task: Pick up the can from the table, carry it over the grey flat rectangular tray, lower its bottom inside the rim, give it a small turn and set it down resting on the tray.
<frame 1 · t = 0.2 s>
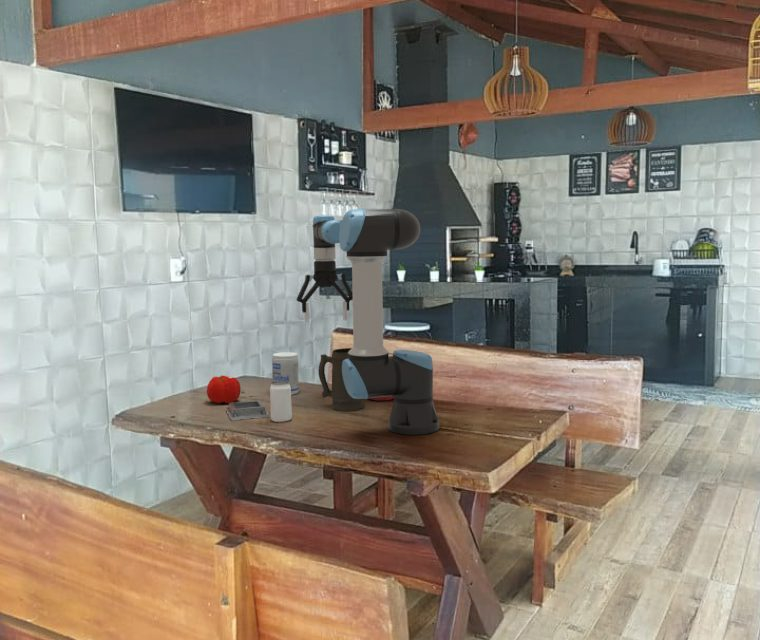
hand: (326, 321, 254), 28 cm above the table, tool pointing down, fingers open, 13 cm apart
tomato: (224, 402, 254), on the table
can: (281, 420, 228), on the table
supplement tub: (286, 393, 267), on the table
grey flat rectangular tray: (247, 413, 236), on the table
beer stein: (341, 408, 243), on the table
plant pot: (381, 398, 256), on the table
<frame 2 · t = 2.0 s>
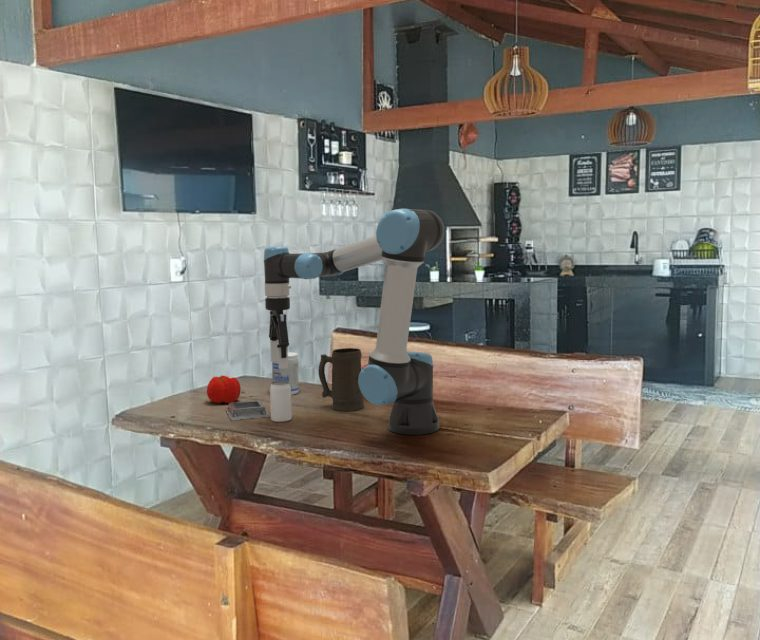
hand: (279, 364, 226), 18 cm above the table, tool pointing down, fingers open, 13 cm apart
nothing on the table moved.
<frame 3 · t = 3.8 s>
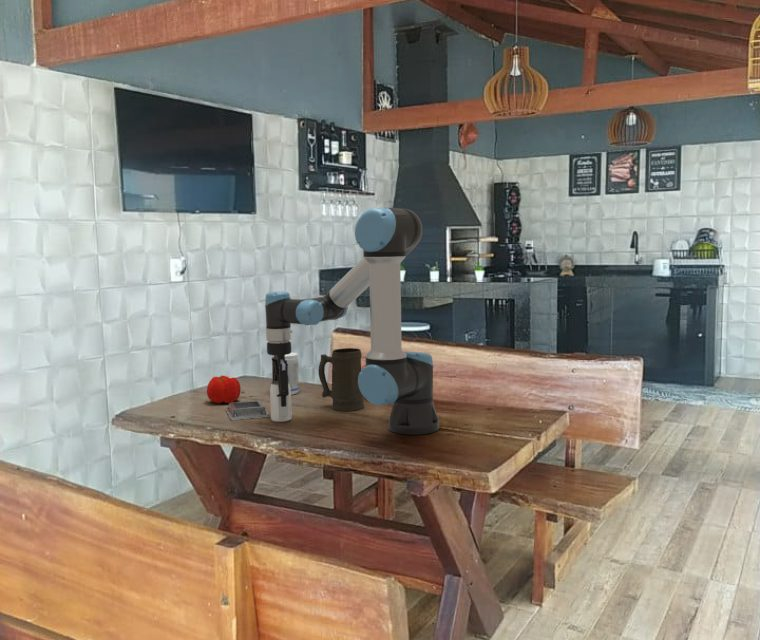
hand: (281, 413, 228), 2 cm above the table, tool pointing down, fingers closed on can, 6 cm apart
can: (281, 420, 228), on the table, touching gripper
everything else where it was.
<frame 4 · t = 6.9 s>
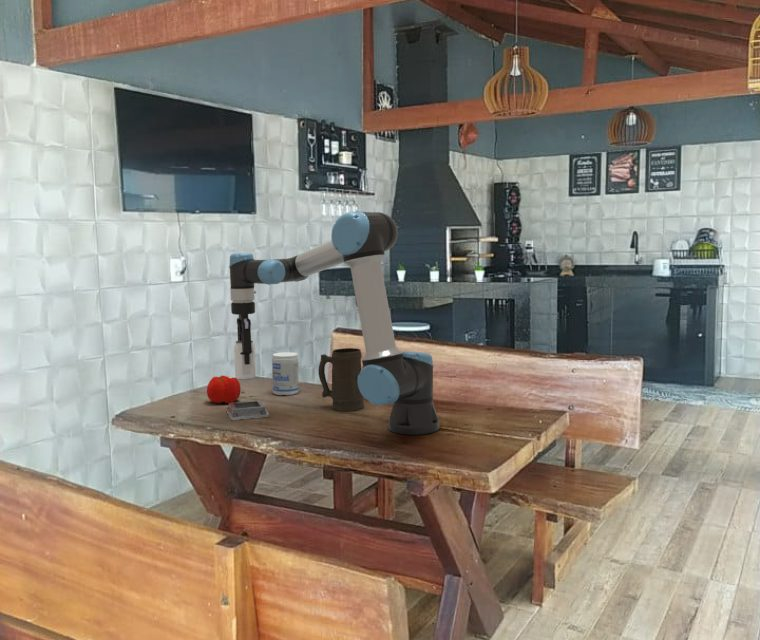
hand: (245, 372, 235), 14 cm above the table, tool pointing down, fingers closed on can, 6 cm apart
can: (245, 378, 235), point 12 cm above the table, touching gripper
everything else where it was.
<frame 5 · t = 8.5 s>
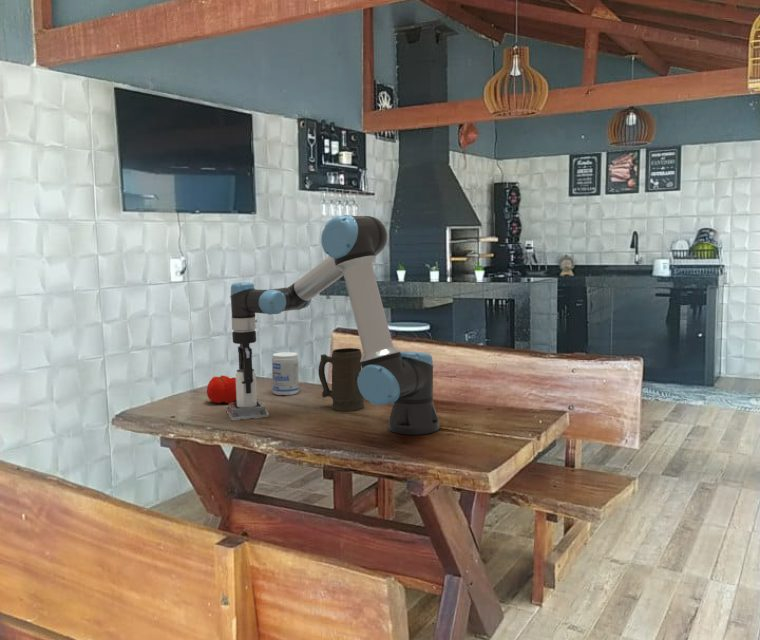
hand: (246, 400, 236), 4 cm above the table, tool pointing down, fingers closed on can, 6 cm apart
can: (246, 406, 236), point 2 cm above the table, touching gripper
everything else where it was.
when the fingers open (4 cm above the table, at t = 9.8 s): can stays where it is, resting on grey flat rectangular tray.
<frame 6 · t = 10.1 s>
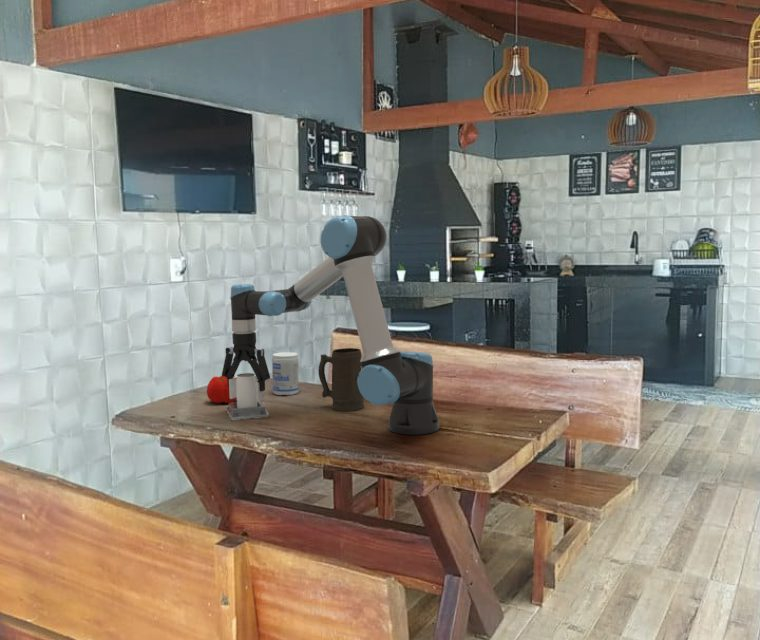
hand: (246, 399, 236), 5 cm above the table, tool pointing down, fingers open, 10 cm apart
can: (247, 411, 236), point 1 cm above the table, touching grey flat rectangular tray
everything else where it was.
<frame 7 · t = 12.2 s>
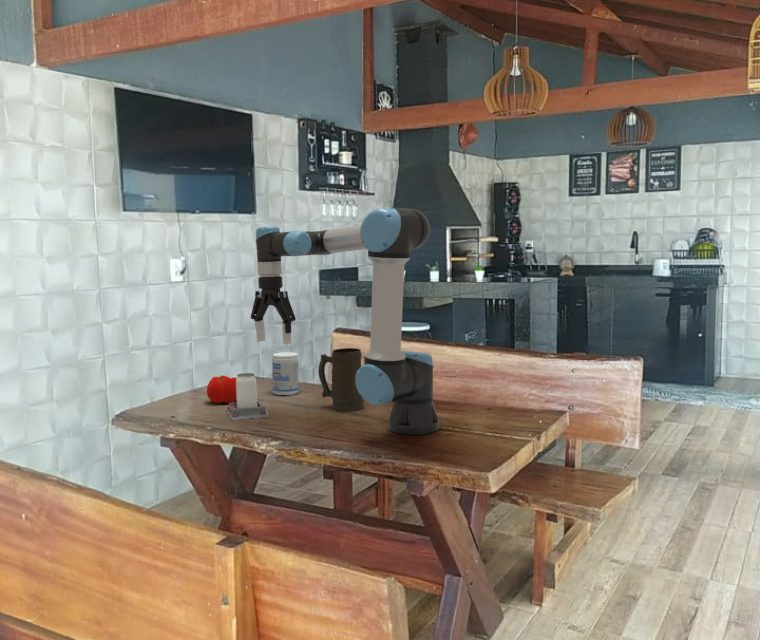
hand: (273, 342, 230), 24 cm above the table, tool pointing down, fingers open, 13 cm apart
nothing on the table moved.
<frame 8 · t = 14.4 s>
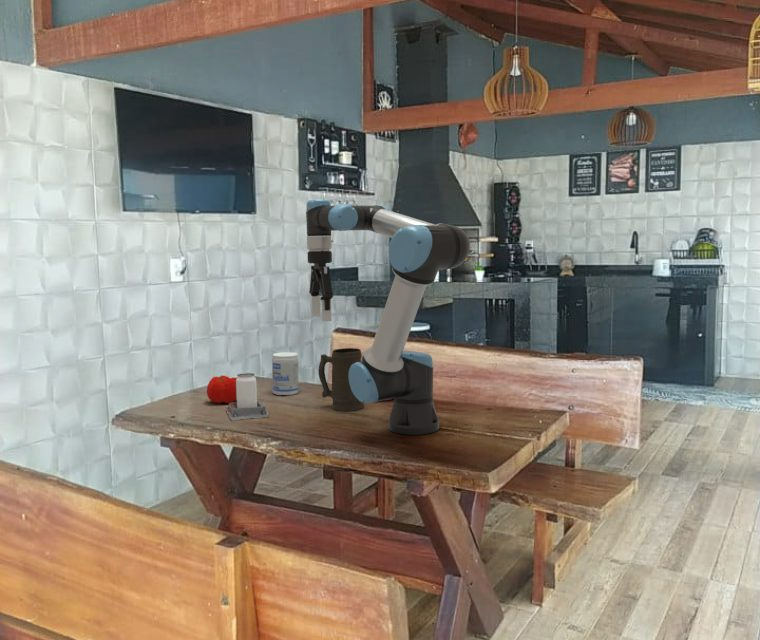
hand: (321, 318, 226), 32 cm above the table, tool pointing down, fingers open, 13 cm apart
nothing on the table moved.
at the end: can 0.1 cm off-centre on the grey flat rectangular tray, point 0.8 cm above the grey flat rectangular tray's base; can tilted 0°; the gripper is holding nothing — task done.
